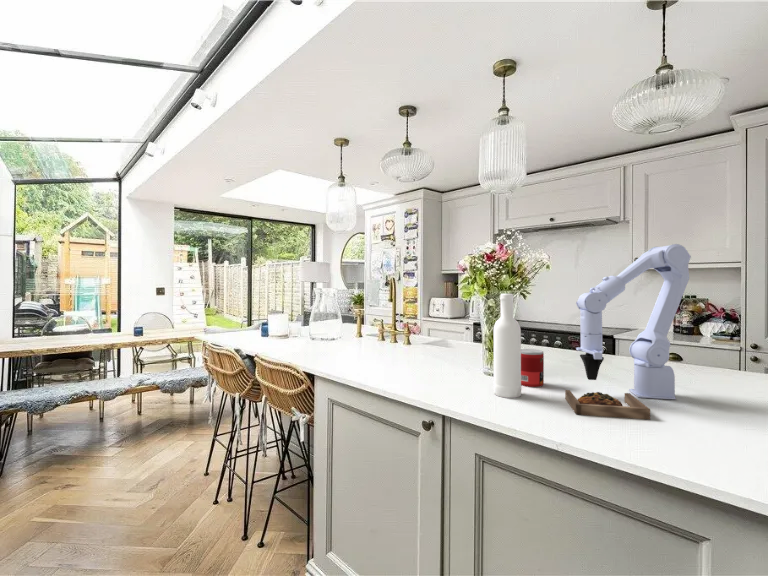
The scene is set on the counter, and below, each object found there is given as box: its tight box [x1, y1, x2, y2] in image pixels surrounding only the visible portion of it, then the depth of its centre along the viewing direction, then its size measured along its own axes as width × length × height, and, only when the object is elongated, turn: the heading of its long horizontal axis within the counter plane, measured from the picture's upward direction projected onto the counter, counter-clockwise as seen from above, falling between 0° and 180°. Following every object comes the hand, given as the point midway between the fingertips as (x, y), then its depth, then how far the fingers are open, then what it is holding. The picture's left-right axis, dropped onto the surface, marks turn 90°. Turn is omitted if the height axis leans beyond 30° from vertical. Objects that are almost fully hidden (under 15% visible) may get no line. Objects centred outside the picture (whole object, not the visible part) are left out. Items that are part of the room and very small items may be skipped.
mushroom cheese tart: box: [577, 391, 624, 406], centre depth 106 cm, size 11×11×5 cm
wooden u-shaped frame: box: [564, 389, 651, 421], centre depth 105 cm, size 16×14×2 cm
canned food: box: [521, 348, 545, 388], centre depth 130 cm, size 8×8×11 cm
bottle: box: [493, 293, 522, 399], centre depth 118 cm, size 8×8×30 cm
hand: (591, 379), depth 117 cm, fingers closed
